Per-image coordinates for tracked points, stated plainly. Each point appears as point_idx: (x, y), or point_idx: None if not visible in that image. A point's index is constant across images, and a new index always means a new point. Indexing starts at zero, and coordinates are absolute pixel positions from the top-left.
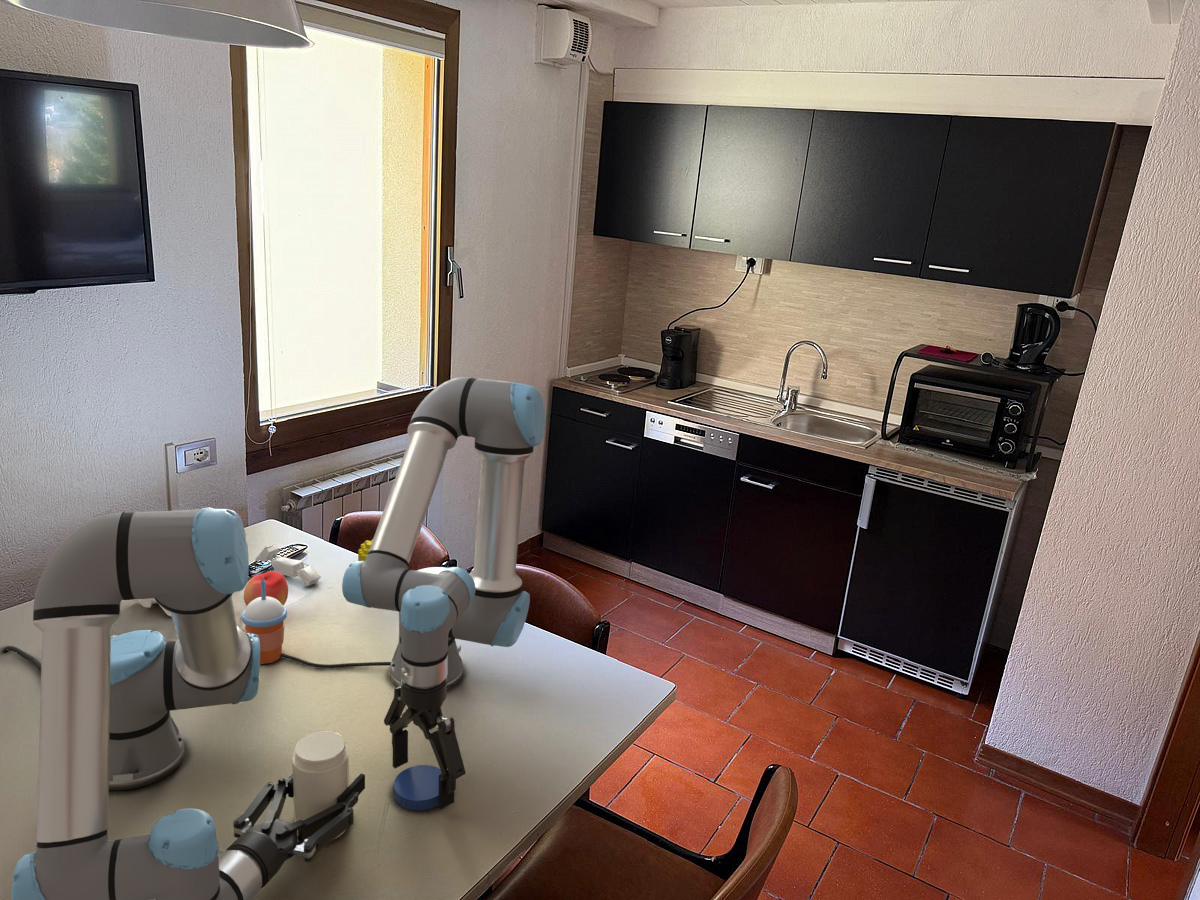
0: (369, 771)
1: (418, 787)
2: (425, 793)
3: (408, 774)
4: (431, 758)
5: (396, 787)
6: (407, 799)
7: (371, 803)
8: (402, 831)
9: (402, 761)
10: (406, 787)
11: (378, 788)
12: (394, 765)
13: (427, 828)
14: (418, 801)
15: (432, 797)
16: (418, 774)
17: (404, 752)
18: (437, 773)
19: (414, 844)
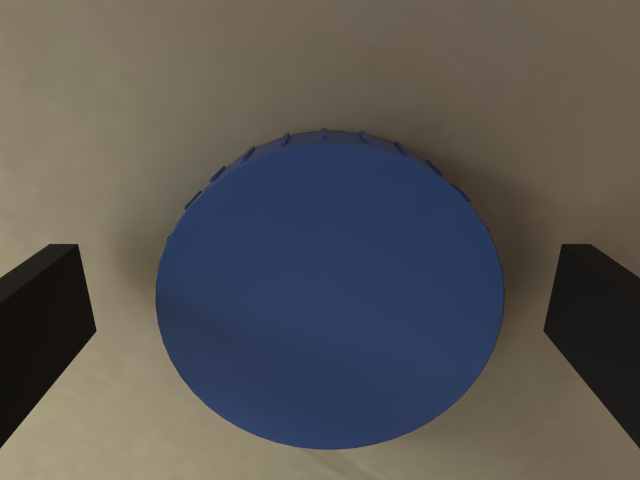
0: None
1: (358, 354)
2: (432, 354)
3: (215, 335)
4: (84, 48)
5: (274, 432)
6: (393, 435)
7: (243, 472)
8: (483, 468)
9: (72, 294)
10: (310, 398)
11: (168, 409)
12: (82, 343)
13: (557, 393)
14: (448, 404)
15: (492, 345)
16: (254, 292)
17: (29, 314)
18: (327, 191)
19: (581, 472)
